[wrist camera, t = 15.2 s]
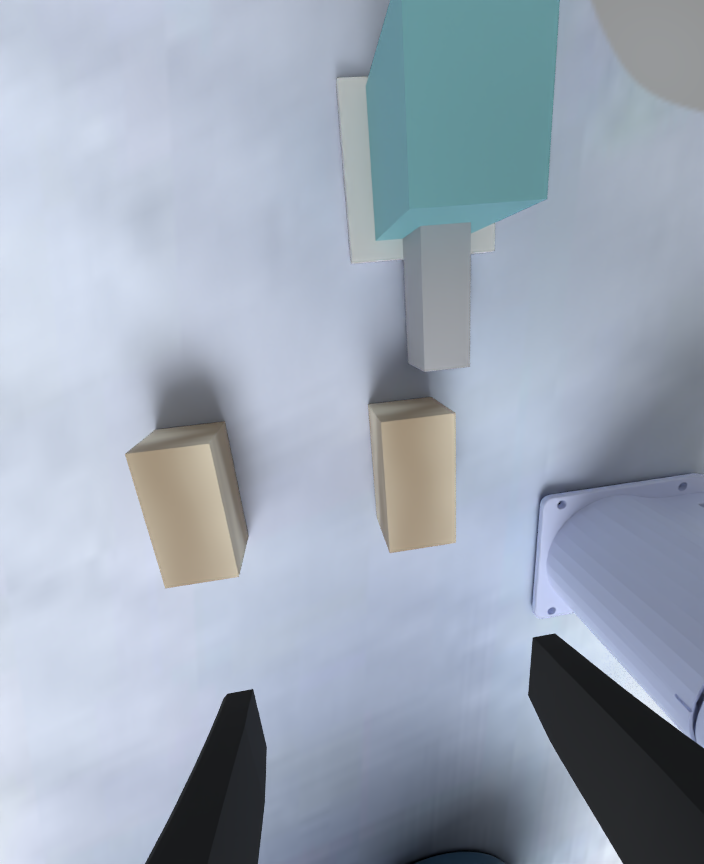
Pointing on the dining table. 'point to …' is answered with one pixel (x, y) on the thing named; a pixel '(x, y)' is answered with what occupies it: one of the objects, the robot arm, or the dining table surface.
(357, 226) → the mat
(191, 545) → the channel
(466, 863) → the canister
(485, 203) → the plug
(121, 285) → the dining table surface
